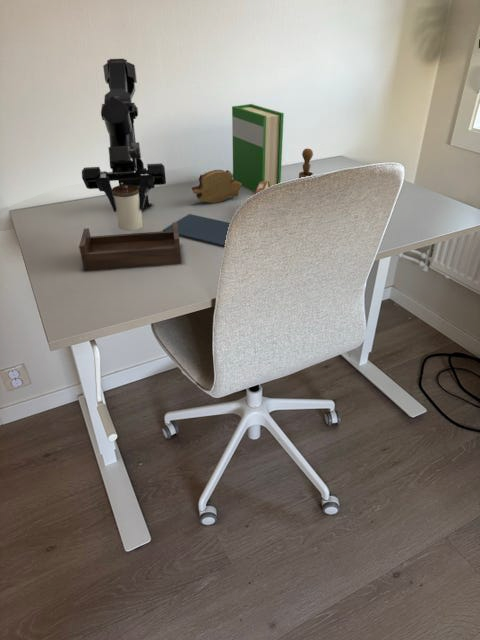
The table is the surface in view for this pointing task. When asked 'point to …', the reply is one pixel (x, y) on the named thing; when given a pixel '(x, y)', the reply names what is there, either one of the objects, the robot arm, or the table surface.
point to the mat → (202, 229)
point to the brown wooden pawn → (306, 163)
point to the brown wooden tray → (130, 249)
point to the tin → (262, 186)
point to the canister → (128, 207)
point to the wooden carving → (217, 186)
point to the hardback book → (256, 145)
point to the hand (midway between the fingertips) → (128, 210)
